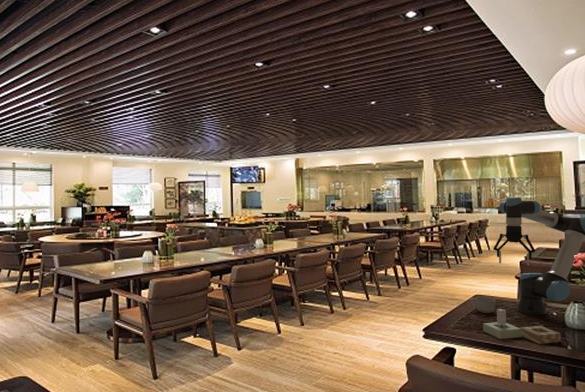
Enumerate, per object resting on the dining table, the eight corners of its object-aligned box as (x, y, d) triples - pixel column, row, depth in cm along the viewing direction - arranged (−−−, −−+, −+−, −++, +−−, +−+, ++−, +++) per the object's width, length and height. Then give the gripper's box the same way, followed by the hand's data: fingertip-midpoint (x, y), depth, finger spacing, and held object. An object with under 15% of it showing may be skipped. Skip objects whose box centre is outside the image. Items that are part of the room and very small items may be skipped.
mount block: (540, 333, 209) (540, 325, 209) (560, 341, 197) (560, 333, 197) (519, 335, 206) (519, 327, 206) (539, 343, 194) (539, 335, 194)
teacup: (496, 311, 250) (496, 297, 250) (494, 315, 241) (494, 301, 241) (471, 308, 258) (471, 295, 258) (468, 312, 249) (468, 298, 249)
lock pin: (502, 332, 211) (502, 308, 211) (507, 335, 207) (507, 310, 207) (495, 333, 210) (495, 309, 210) (501, 335, 206) (500, 311, 206)
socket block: (503, 329, 216) (503, 321, 216) (521, 337, 204) (521, 328, 204) (483, 331, 213) (483, 323, 213) (499, 338, 201) (499, 330, 201)
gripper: (487, 224, 232) (488, 263, 232) (539, 226, 219) (540, 266, 219) (489, 224, 239) (489, 261, 239) (540, 225, 225) (540, 265, 225)
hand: (513, 264), depth 229 cm, fingers open, 13 cm apart
